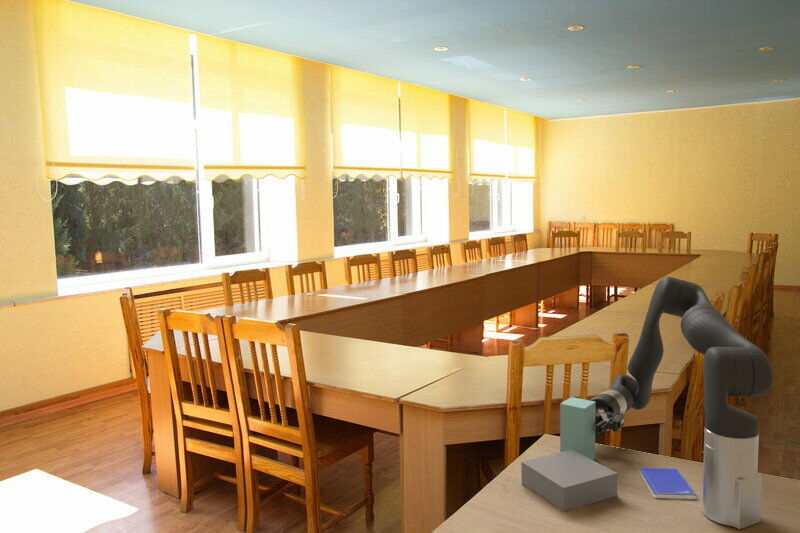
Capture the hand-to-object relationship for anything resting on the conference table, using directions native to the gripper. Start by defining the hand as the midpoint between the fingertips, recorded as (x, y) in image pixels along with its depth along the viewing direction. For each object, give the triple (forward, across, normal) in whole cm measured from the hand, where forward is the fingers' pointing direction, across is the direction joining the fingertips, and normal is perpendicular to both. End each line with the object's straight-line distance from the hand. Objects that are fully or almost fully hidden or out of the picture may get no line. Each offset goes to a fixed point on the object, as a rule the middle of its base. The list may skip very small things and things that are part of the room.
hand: (579, 426), depth 150 cm
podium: (+16, +5, +8) cm, 19 cm away
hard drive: (+2, +20, +9) cm, 22 cm away
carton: (+1, 0, +8) cm, 8 cm away
